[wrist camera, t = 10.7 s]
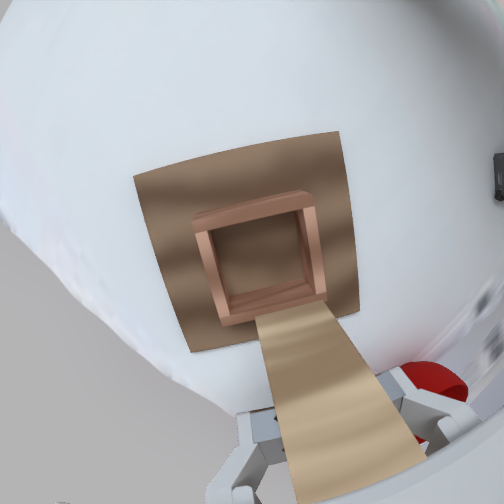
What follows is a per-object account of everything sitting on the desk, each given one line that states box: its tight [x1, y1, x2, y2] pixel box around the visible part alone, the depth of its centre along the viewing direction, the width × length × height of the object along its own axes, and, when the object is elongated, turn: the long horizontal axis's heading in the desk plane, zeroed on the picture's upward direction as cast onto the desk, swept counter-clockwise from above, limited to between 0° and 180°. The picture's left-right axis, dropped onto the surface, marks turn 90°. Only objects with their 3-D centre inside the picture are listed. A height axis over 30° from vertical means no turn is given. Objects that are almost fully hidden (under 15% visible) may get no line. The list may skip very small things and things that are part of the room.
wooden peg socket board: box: [133, 131, 360, 353], centre depth 27 cm, size 20×20×5 cm
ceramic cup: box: [400, 361, 468, 444], centre depth 33 cm, size 13×17×10 cm
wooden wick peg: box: [255, 300, 427, 504], centre depth 9 cm, size 4×4×12 cm
